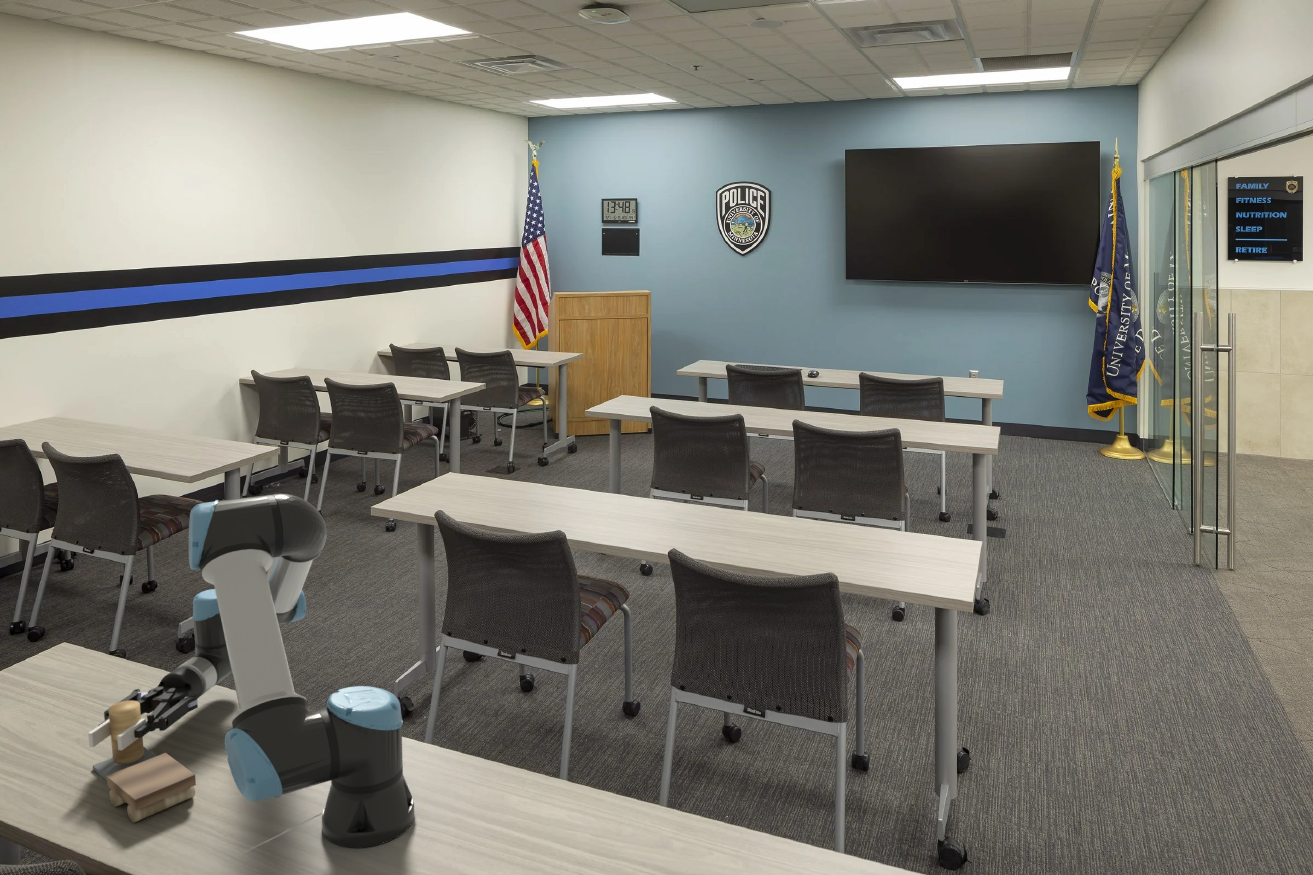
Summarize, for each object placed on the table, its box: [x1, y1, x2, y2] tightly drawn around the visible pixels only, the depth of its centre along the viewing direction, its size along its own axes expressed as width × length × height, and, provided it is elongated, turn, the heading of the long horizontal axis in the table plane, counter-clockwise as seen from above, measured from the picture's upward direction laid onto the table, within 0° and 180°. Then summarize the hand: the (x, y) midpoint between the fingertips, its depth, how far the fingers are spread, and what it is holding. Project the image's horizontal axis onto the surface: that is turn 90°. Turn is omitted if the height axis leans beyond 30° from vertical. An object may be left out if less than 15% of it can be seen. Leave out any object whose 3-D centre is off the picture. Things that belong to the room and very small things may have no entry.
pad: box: [92, 745, 157, 782], centre depth 172 cm, size 9×9×1 cm
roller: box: [108, 701, 144, 764], centre depth 170 cm, size 5×5×10 cm
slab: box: [106, 752, 197, 824], centre depth 161 cm, size 11×10×5 cm
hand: (105, 741), depth 165 cm, fingers closed on roller, 5 cm apart
